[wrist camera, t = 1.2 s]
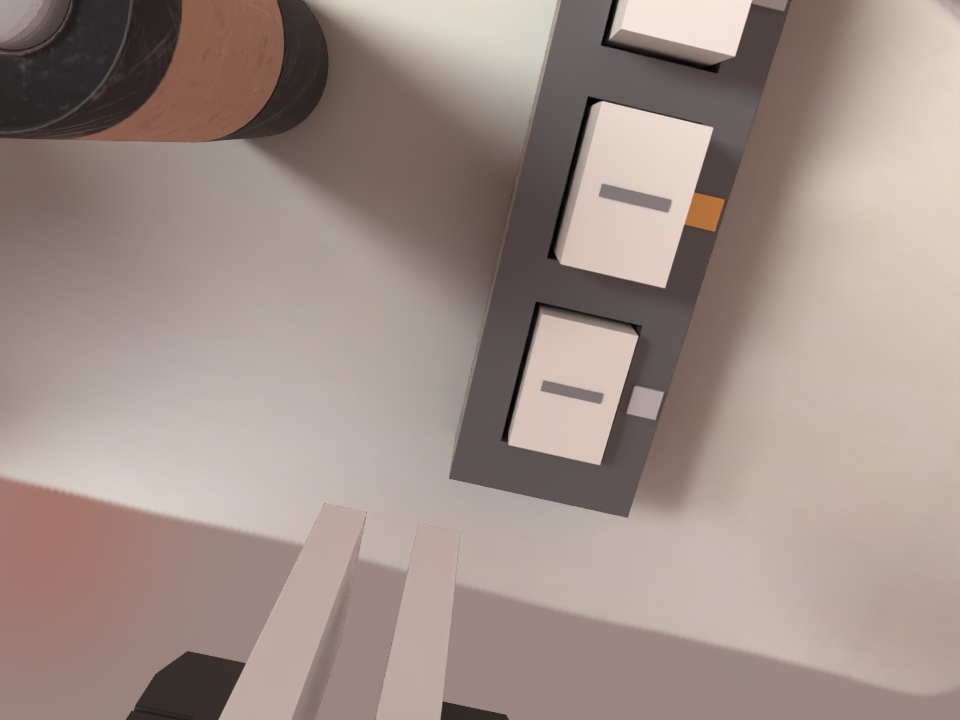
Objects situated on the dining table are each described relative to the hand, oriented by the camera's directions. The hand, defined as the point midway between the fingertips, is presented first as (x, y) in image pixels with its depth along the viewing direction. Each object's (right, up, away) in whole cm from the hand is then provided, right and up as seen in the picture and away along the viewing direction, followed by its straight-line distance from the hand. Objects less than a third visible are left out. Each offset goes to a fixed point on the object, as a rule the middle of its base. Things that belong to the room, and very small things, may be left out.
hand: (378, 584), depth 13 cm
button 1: (+6, +4, +25) cm, 26 cm away
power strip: (+9, +15, +23) cm, 29 cm away
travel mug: (-9, +19, +23) cm, 31 cm away
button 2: (+8, +12, +21) cm, 25 cm away
